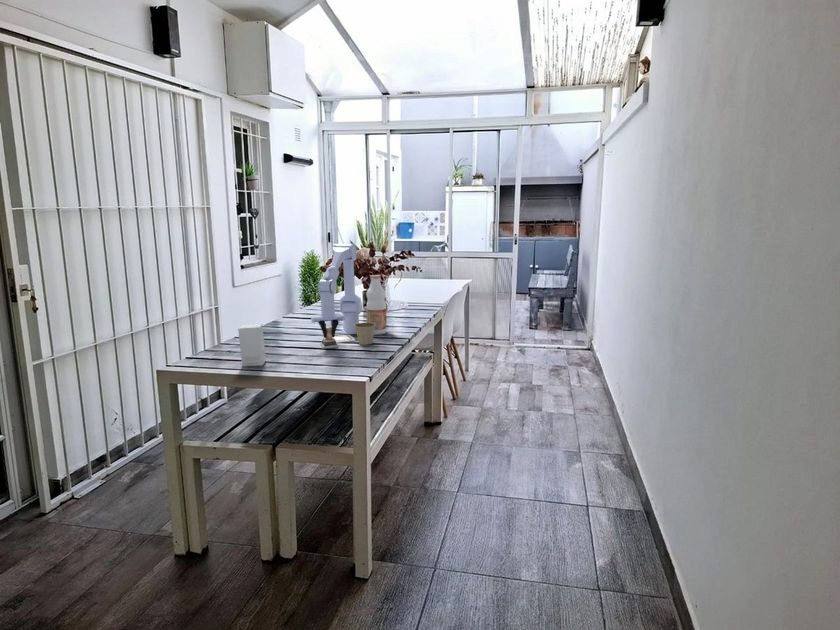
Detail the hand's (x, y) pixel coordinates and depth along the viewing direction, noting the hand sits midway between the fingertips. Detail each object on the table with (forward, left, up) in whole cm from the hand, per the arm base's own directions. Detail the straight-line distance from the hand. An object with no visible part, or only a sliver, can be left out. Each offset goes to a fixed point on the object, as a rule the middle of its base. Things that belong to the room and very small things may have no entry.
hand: (329, 337), depth 250 cm
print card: (-10, +8, -4) cm, 13 cm away
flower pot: (+2, +16, -4) cm, 17 cm away
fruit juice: (-16, +27, -4) cm, 32 cm away
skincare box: (+16, -34, -4) cm, 38 cm away
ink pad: (0, 0, -4) cm, 4 cm away
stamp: (0, 0, -3) cm, 3 cm away
